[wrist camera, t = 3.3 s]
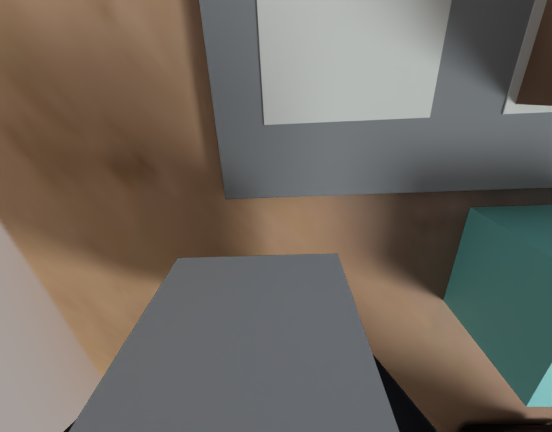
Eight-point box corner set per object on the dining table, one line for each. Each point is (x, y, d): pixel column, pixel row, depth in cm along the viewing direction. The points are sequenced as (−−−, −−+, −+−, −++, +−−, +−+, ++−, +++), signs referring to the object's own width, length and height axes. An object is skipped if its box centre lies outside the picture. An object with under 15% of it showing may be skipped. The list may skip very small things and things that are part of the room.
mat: (661, 178, 10) (684, 183, 10) (228, 193, 11) (225, 199, 10) (904, -239, 6) (970, -274, 6) (180, -176, 7) (171, -203, 6)
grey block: (330, 363, 10) (369, 575, 6) (203, 364, 11) (143, 571, 6) (337, 253, 8) (405, 451, 4) (177, 257, 8) (56, 450, 4)
